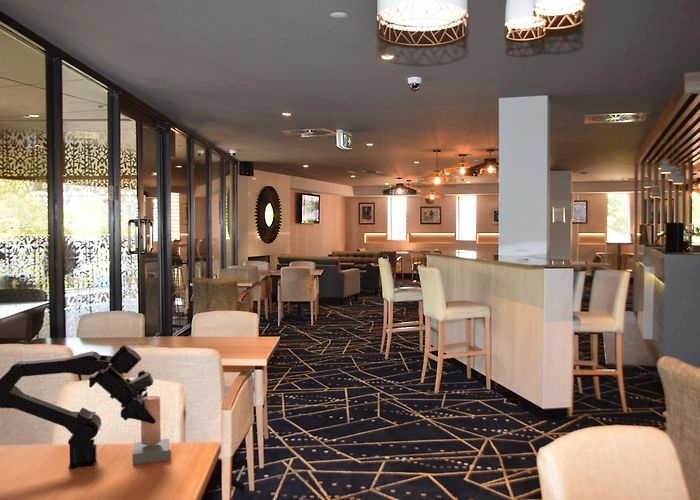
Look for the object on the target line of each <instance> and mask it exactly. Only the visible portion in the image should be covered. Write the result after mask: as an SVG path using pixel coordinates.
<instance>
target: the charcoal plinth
mask: <svg viewBox="0 0 700 500" xmlns="http://www.w3.org/2000/svg"><path fill="white" fill-rule="evenodd" d="M167 461H170V440H169V438H163V439H162V438H161V441H160V442H159V443H157V444H154V445H143V444H141V441H134V442H133V449H132V465H140V464H149V463H158V462H159V463H160V462H167Z"/></svg>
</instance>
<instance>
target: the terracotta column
mask: <svg viewBox="0 0 700 500" xmlns="http://www.w3.org/2000/svg"><path fill="white" fill-rule="evenodd" d="M141 400H142V401H144V400H145V408H146V409H147V410H148V411H149V413H150V414H151V415H152V416H153V417H154V419H155V420H156V422H155V423H154V424H152V423H148V422H144V421H140V442H141V444H143V445H154V444H157V443H159V442H160V441H161V440H162V438H161V435H162V434H161V396H158V395H149V396H148V395H147V397H143V398H141Z"/></svg>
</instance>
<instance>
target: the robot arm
mask: <svg viewBox="0 0 700 500" xmlns="http://www.w3.org/2000/svg"><path fill="white" fill-rule="evenodd" d="M141 360H142V357H141V356H140V354H139V353H138V352H137V351H136V350H135V349H132V348H130V347H129V346H127V345H125V344H122V345H121V346H120V347H119V349H118V350H117V351H116V352H115V353H114V354H113V355H103V354H100V353H98V351H87V352H83V353H80V354H76V355H73V356H70V357H64V358H62V357H60V358H53V359H42V360H41V359H40V360H30V361H29V360H28V361H24V360H20V361H19V360H18V361H17V362H16V363H15V364H14V363H13V365H11V367H10V369H9V370H7V372H6V373H5V374H3V375H2V376H1V377H0V409H15V410H18V411H20V412H23V413H26V414H29V415H32V416H34V417H36V418H39V419H42V420H45V421H47V422H50V423H53V424H56V425H58V426H61V427H64V428H65V429H66V430H67V431H68V432H69V433H70V434H72V435H71V436H70V438H69V439H68V441H67V443H68V446H69V464H68V469H74V468H85V467H92V466H94V465H95V462H96V461H97V458H98V457H97V455H98V453H97V450H98V449H97V443H96V444H95V437H96V436H97V435H98V433H99V431H100V429H101V427H102V419H101V417H100V416H99V415H98V414H96V411H90V410H89V409H86V408H84V407H82V408H80V409H79V411H71V410H69V409H66V408H64V407H61V406H59V405H56V404H53V403H50V402H47V401H44V400H42V399H40V398H37V397H34V396H31V395H29V394H26V393H24V392H23V391H22V390H21V389H20V388H18V386H16V384H17V383H18V382H19V381H20V380H21V378H23V377H33V376H43V375H56V374H71V375H72V374H73V375H77V376H79V375H81V376H89V377H88V381H89V385H88V386H89V388H92V387H94V386H95V384H97V385H99V386H100V387H101V388H102V389H103V390H105V391H106V392H107V393H108V394H109V395H110V396H109V397H110V399H112V400H113V399H115V400H116V401H117V402H118V403H119V404H120V407H121V410H120V417H121V419H123V420H124V421H127V420H131V419H132V420H137V421H140V422H141V421H144V422H148V423H152V424H154V423H155V422H156V420H155V419H154V417H153V416H152V415H151V414H150V413H149V411H148V410H147V409H146V408H145V400H144V401H142V400H141V398H143V397H147V396H148V393H149V392H148V391H147V390H148V388H149V387H151V386H152V385H154V379H153V378H152V374H151V372H149V371H145V370H140V371H138V373H137V377H135V378H134V379H132V380H131V379H130V378H124V377H123V376H122V375H123V374H128V373H130V372H131V370H132V369H134V367H135V366H137V364H139V362H140V361H141ZM97 371H98V372H97ZM95 373H96V374H95ZM94 374H95V375H94ZM144 392H145V393H144ZM143 393H144V394H143Z"/></svg>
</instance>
